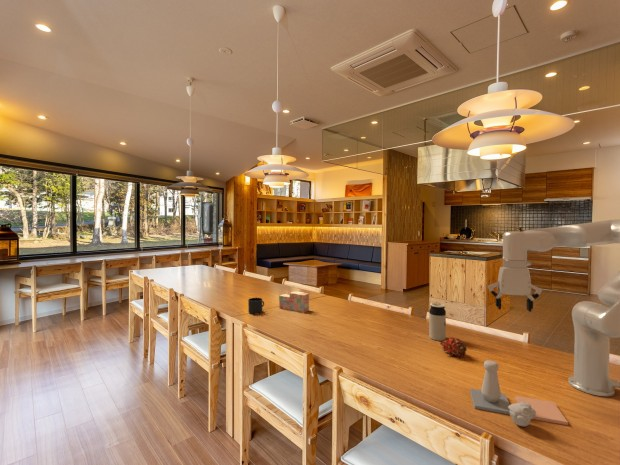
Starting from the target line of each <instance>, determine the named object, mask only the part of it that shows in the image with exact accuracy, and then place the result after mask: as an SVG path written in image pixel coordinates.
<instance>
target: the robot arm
mask: <svg viewBox="0 0 620 465" xmlns="http://www.w3.org/2000/svg"><path fill="white" fill-rule="evenodd" d="M611 244H620V219H608V220H600V221H593V222H585V223H576V224H567V225H561V226H560V225H559V226H552V227H545V228H544V227H541V228H534V229H526V230H524V231H517V230H516V231H513V230H512V231H505V232H504V233H503V234H502V266H500V267H499V270H498V275H497V276H498V277H497V282H493V283H491V284H489V285H487V288H488V290H489V292H490V293H491V294H492V295H493V297H494V298H495V307H497V309H498V310H502V299H501V297H502V296H503V295H511V296H526V298H527V299H526V310H527V311H528V312H530V313H532V310H533V309H534V302H535V300H536V299H538V298H539V296H540V295H541V294H542V292H543V289H542V288H540V287H538V286H536V285H533V284H532V281H531V275H530V274H531V273H530V270H529V268H528V266H532V261H529V260H528V251H531V252H538V253H542V252H548V251H550V250H552V249H553V248H554V247H559V248H560V247H561V248H562V247H563V248H564V247H565V248H586V247H593V246H601V245H611ZM494 288H497V290H498V291H497V292H495V290H494ZM532 289H533V290H535V292H534V293H532ZM597 298H598V300H599V301H600V302H601V303H603V304H600V303H599V302H594V301H588V300H583V301H582V300H581V301H579V302H577V303H575V305H574V306H573V307H572V310H571V319H572V322H573V323H572V324H573V330H574V331H573V332H574V345H573V346H574V347H573V348H574V349H573V350H574V351H573V375H571V376H569V377H568V380H567V381H568V383H569V385H570V386H572V388H575V389H577V390H579V391H581V392H583V393H587V394H588V395H589V394H590V395H594V396H599V397H613V396H615V388H619V389H620V381H618V380H617V379H613V378H612V379H611V378H610V353H611V352H610V350H611V344H610V338H614V339H616V338H617V339H618V338H620V271H618V273H617V274H615V275H614V276H613V277H612V278H611V279H609V280H608V281H607V282H606V283H605V284H603V285H602V287H600V289H599V290H598V291H597Z"/></svg>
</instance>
